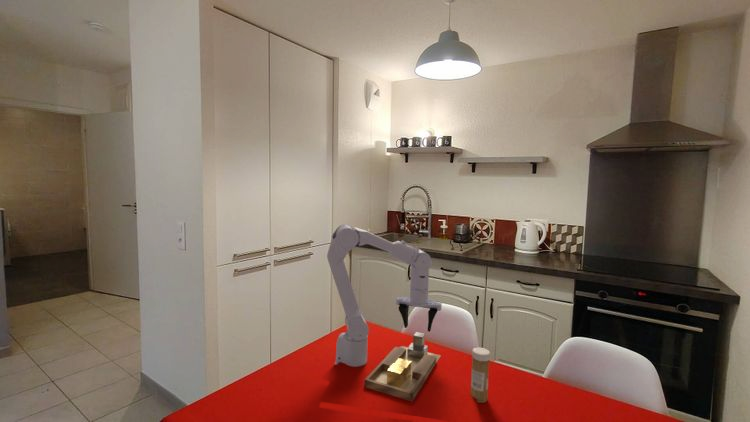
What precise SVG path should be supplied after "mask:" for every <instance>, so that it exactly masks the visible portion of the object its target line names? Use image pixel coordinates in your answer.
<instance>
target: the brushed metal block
mask: <svg viewBox="0 0 750 422" xmlns="http://www.w3.org/2000/svg"><path fill="white" fill-rule="evenodd" d="M412 337H413V342H411V343H410V344H409V346H407V347H408V351H407V356H409V357H414V358H418V359H422V358H423V356H424V355H425V354H427V352H428V347H429V346H428V345H426V344H425V333H424V332H418V331H415V332H414V334H413V336H412Z"/></svg>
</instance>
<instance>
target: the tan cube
mask: <svg viewBox="0 0 750 422" xmlns="http://www.w3.org/2000/svg"><path fill="white" fill-rule="evenodd" d="M394 364H395V365H399V366H403V367H406V372H405V381H406V380H407V379H408V378H409V376H410V375H411V361H408V360H404V359H400V358H398V360H397V361H396V362H395V363H394Z"/></svg>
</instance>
